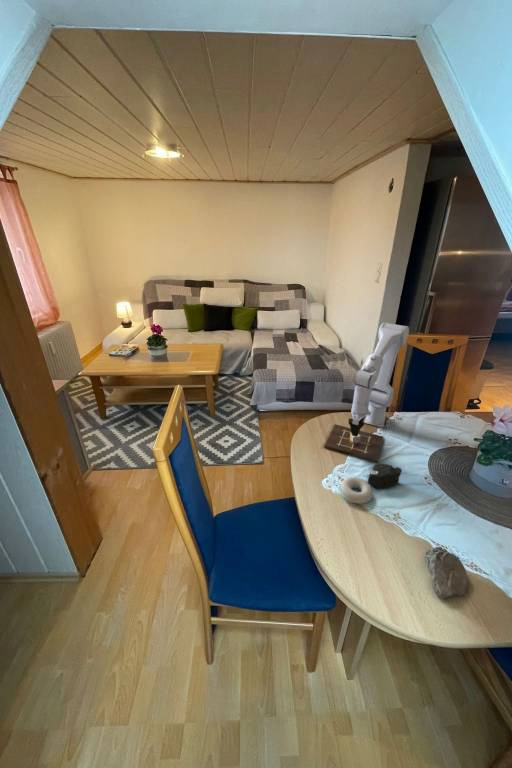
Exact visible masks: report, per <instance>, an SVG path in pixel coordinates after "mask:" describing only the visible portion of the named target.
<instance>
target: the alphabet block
mask: <svg viewBox="0 0 512 768" xmlns="http://www.w3.org/2000/svg"><path fill="white" fill-rule="evenodd" d="M360 438H361V436H360V435H359V434H358V436H357V437H356V436H352V434H350V439H351V441H352V443H358V442H360Z"/></svg>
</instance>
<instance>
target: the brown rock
mask: <svg viewBox="0 0 512 768" xmlns="http://www.w3.org/2000/svg"><path fill="white" fill-rule="evenodd" d="M423 560H424V562H425V563H426V567H427V569H428V570H429V571H430V574H431V580H432V582H433V585H432V589H433V591H434V592H435V593H436V594H437V596H439V598H440V599H446V598H448V597H460V596H461V597H462V596H463V595H464V594H465V593H466V591H467V589H468V585H469V579H468V574H467V571H466V568H465V566H464V564H463V562H462V561H461V559H460V558H459V557H458V556H457V555H456V554H454V553H451V552H449V551H448V550H446V549H444V548H443V547H440V546H435V547H431V548H429V549H427V550H426V551H425V554H424V555H423Z"/></svg>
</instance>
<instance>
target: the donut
mask: <svg viewBox="0 0 512 768" xmlns="http://www.w3.org/2000/svg"><path fill="white" fill-rule="evenodd" d="M353 488H355V489H359V490H360V491H358V492H357V491H355V490H353ZM372 488H373V487H372V486H371V485H369V484H368V481H366V480H364V479H363V478H361V477H356V476H350V477H347V478H345V479H343V480H342V482H341V484H340V492H341V495H342V496H343V497H344V498H345V499H346V500H348V501H349V502H351V503H354V504H359V505H361V504H366V503H368V502H369V501H371V500H372V497H373V489H372Z"/></svg>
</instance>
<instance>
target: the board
mask: <svg viewBox="0 0 512 768" xmlns="http://www.w3.org/2000/svg"><path fill="white" fill-rule="evenodd" d="M350 434H351V427H347V426H345V425H344V426H343V425H339V424H336V423H335V424H334V425H333V427H332V430H331V432H330V434H329V436H328V437H327V440H326V442H325V444H324V448H325V449H328V450H332V451H335V452H339V453H342V454H346V455H348V456H352V457H355V458H359V459H362V460H366V461H369V462H373V463H376V464H379V463H378V462H379V458H380V453H381V450H382V445H383V440H384V436H382V435H379V434H375V433H371V432H367V431H363V430H360V431H359V435H360V436H361V438H360V442H358V443H352V441H351V439H350Z"/></svg>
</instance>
